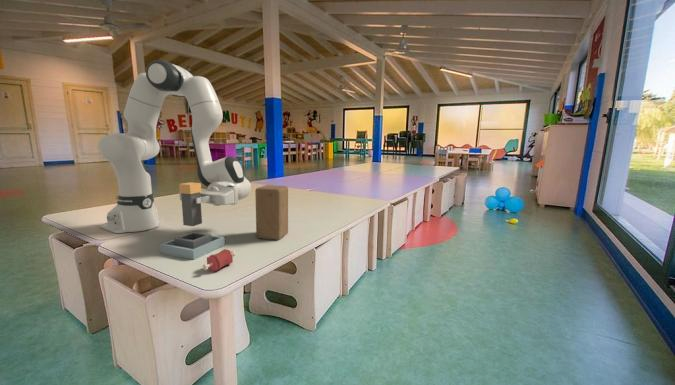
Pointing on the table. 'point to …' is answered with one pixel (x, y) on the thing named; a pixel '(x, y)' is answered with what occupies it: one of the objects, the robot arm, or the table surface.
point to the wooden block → (271, 211)
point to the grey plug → (190, 203)
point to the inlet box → (192, 245)
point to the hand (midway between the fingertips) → (189, 200)
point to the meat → (219, 260)
